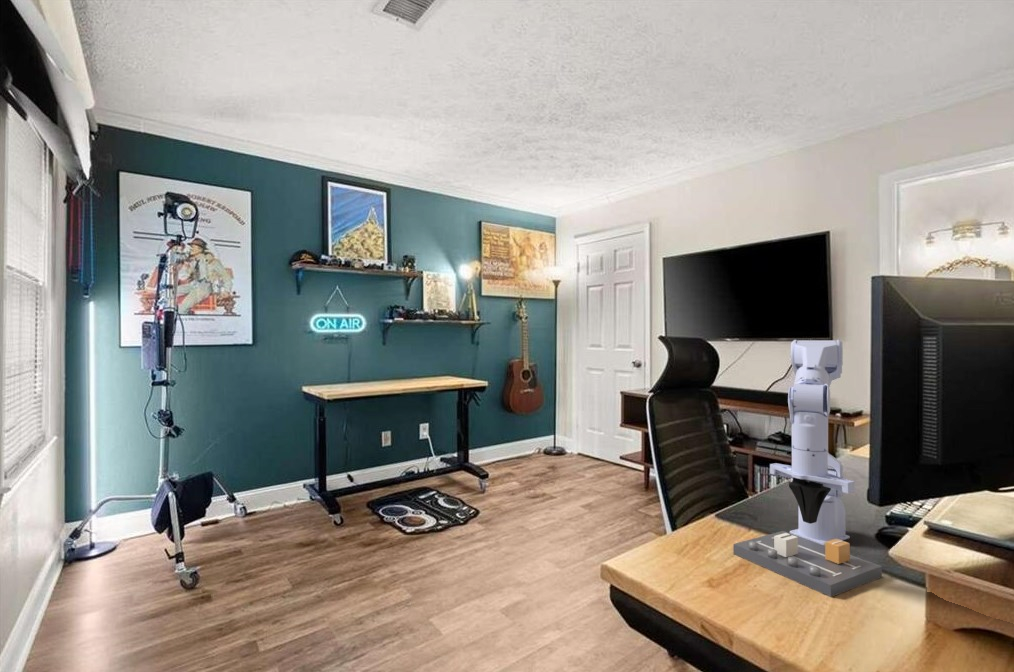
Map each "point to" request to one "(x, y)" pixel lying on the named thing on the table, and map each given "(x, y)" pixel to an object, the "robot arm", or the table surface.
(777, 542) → the fader
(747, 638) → the table surface
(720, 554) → the table surface
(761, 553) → the mixer board
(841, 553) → the fader
